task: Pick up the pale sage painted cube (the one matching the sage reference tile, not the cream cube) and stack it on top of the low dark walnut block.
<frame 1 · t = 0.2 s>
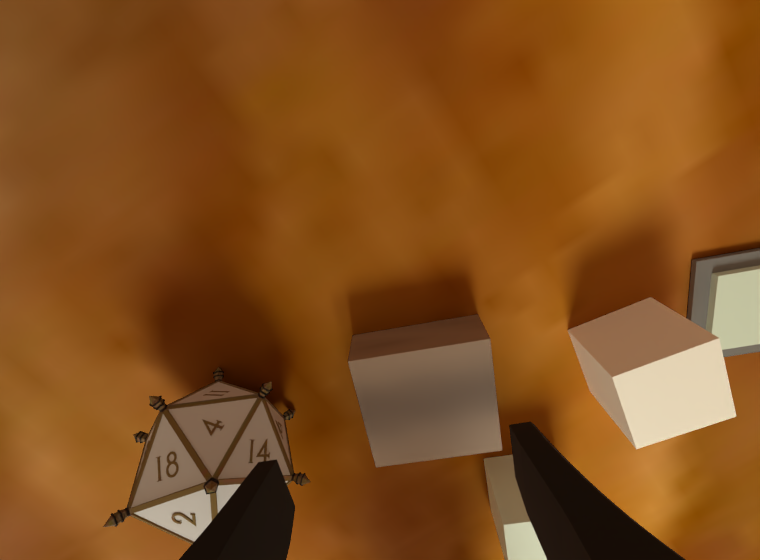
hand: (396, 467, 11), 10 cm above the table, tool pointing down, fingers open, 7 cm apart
cream cube: (618, 345, 21), on the table
sage cube: (521, 478, 25), on the table
walnut base: (423, 374, 22), on the table
reference tile: (747, 302, 20), on the table
game die: (246, 403, 23), on the table
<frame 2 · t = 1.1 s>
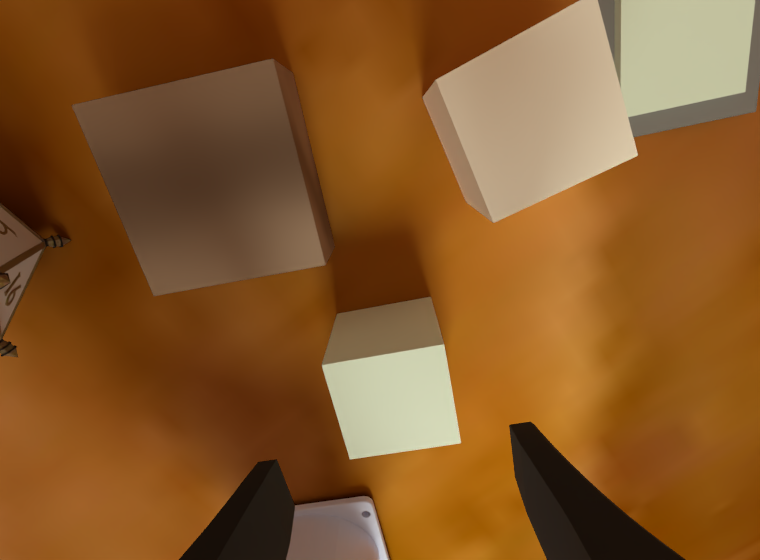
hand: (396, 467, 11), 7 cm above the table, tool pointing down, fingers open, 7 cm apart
cream cube: (496, 125, 15), on the table
sage cube: (392, 345, 19), on the table
walnut base: (238, 181, 16), on the table
reference tile: (671, 43, 14), on the table
game die: (7, 232, 17), on the table
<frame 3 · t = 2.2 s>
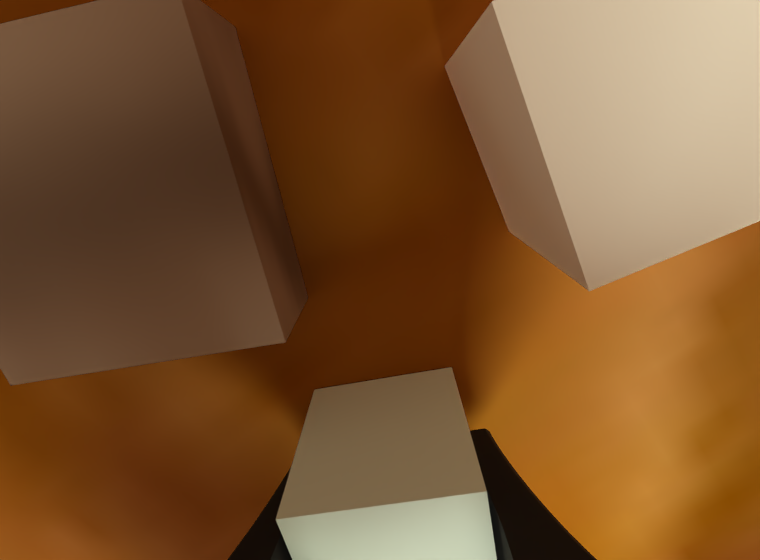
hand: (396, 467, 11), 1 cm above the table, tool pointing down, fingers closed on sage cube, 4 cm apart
cream cube: (563, 112, 9), on the table
sage cube: (395, 433, 13), on the table, touching gripper
walnut base: (160, 200, 11), on the table
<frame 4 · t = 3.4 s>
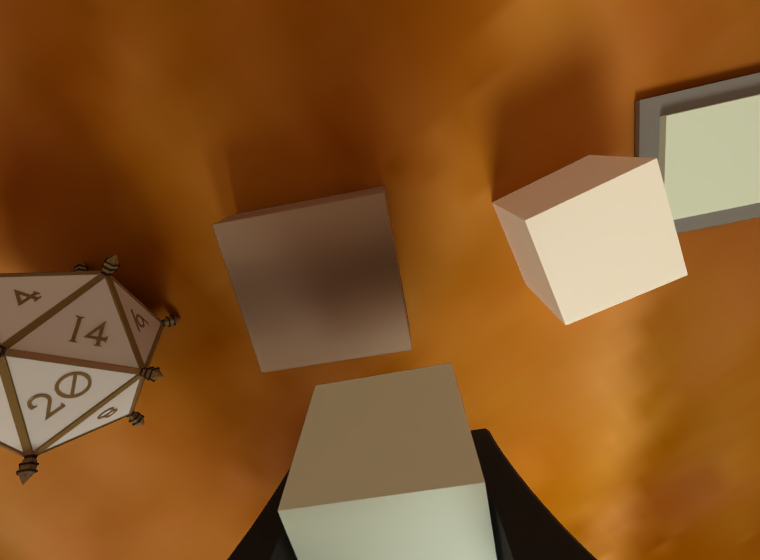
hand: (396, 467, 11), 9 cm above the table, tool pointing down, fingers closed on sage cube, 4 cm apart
cream cube: (554, 223, 18), on the table
sage cube: (395, 429, 13), point 7 cm above the table, touching gripper
walnut base: (327, 268, 19), on the table
reference tile: (706, 158, 16), on the table
game die: (124, 311, 20), on the table
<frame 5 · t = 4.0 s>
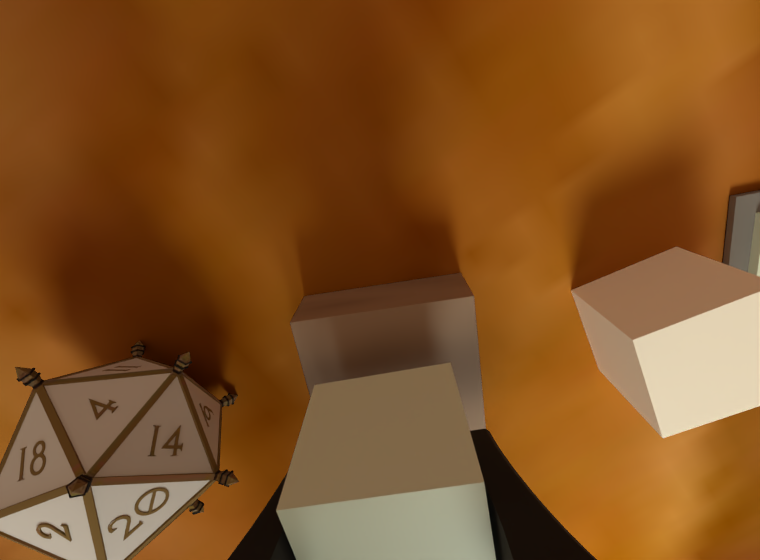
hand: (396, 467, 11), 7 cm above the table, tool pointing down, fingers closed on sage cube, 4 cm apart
cream cube: (634, 311, 17), on the table
sage cube: (394, 428, 13), point 5 cm above the table, touching gripper
walnut base: (393, 349, 18), on the table
game die: (178, 387, 19), on the table
when the fingers open (6 cm above the table, at t = 4.6 s): sage cube drops 1 cm, resting on walnut base.
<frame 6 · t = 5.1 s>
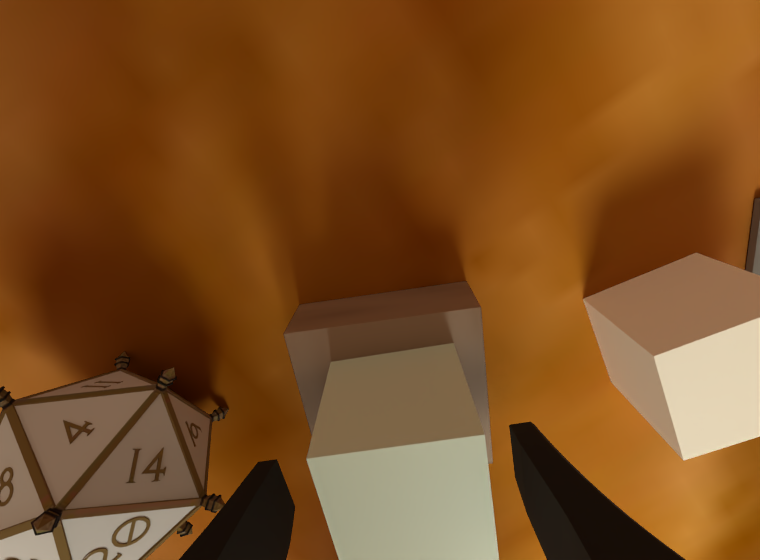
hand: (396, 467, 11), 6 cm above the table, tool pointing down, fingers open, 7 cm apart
cream cube: (649, 320, 16), on the table
sage cube: (401, 403, 14), point 3 cm above the table, touching walnut base
walnut base: (393, 359, 17), on the table, touching sage cube
game die: (167, 400, 18), on the table
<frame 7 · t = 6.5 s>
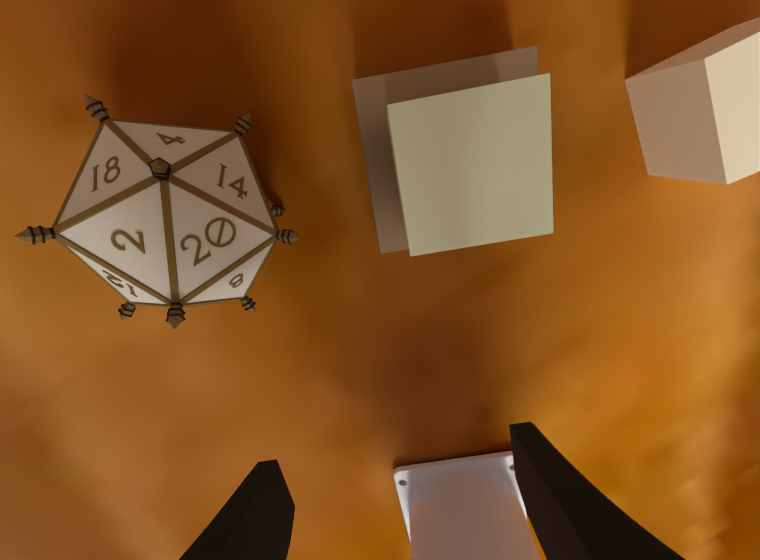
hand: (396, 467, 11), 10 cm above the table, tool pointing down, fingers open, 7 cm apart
cream cube: (686, 105, 17), on the table
sage cube: (450, 164, 15), point 3 cm above the table, touching walnut base
walnut base: (441, 156, 18), on the table, touching sage cube
game die: (225, 203, 19), on the table
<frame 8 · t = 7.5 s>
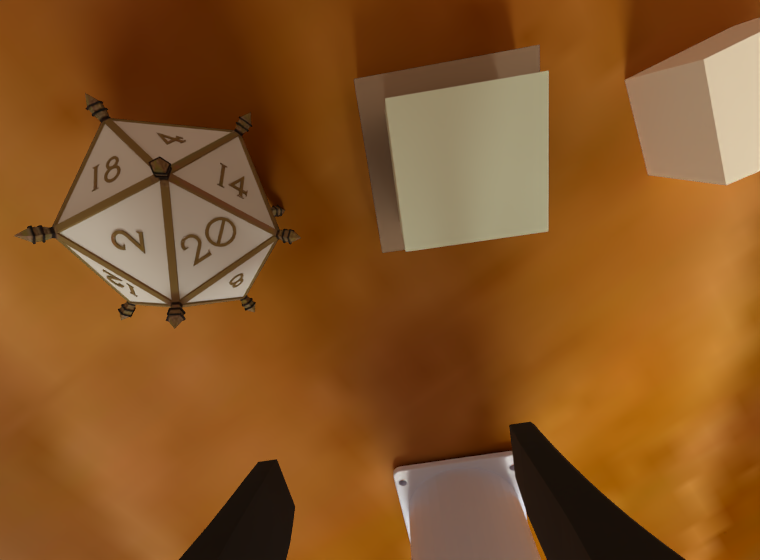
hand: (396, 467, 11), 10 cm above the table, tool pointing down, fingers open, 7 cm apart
cream cube: (686, 105, 17), on the table
sage cube: (447, 161, 15), point 3 cm above the table, touching walnut base
walnut base: (443, 156, 18), on the table, touching sage cube
game die: (225, 203, 19), on the table
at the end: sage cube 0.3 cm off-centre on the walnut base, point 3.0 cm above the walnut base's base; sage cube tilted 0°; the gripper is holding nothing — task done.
